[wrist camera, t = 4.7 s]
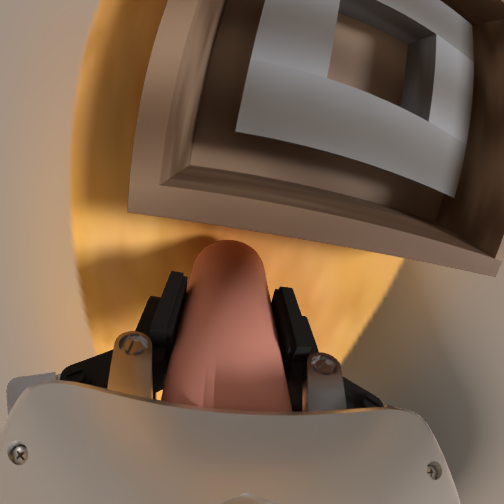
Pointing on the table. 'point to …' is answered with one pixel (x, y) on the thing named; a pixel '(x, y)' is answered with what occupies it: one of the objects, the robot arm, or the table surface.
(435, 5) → the open box
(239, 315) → the peg
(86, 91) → the table surface
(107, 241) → the table surface
